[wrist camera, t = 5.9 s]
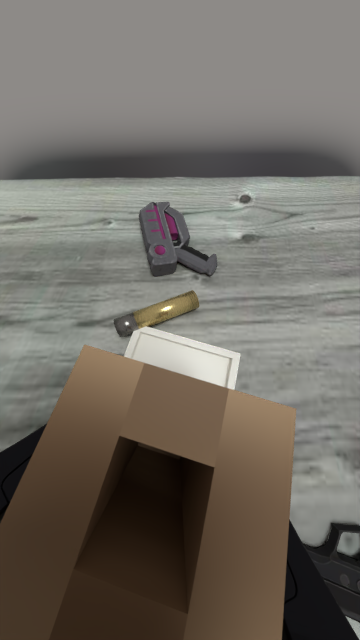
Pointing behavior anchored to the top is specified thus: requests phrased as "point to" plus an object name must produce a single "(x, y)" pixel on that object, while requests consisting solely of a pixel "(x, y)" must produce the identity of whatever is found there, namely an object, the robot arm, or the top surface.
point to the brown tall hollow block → (150, 511)
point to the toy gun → (170, 241)
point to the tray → (184, 356)
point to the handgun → (339, 571)
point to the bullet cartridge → (156, 313)
